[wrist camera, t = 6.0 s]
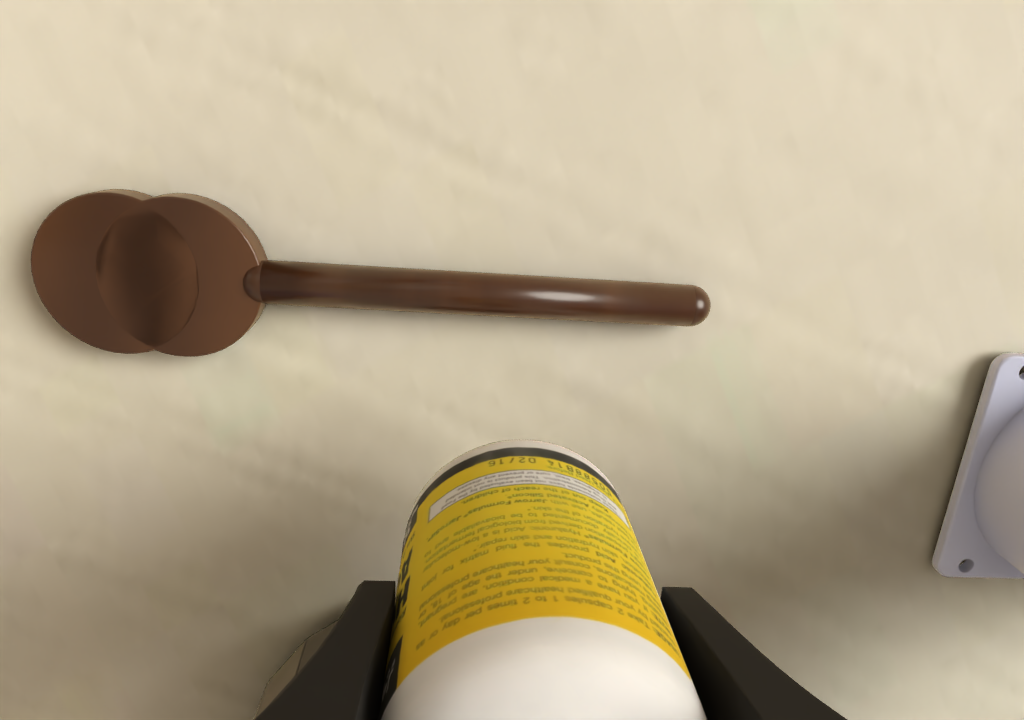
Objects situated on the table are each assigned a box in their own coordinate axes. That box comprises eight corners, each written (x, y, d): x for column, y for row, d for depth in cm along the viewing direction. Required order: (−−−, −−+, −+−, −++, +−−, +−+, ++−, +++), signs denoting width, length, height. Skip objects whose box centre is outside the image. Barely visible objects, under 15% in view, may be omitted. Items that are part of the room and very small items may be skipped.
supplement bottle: (374, 466, 17) (270, 889, 8) (598, 406, 17) (765, 761, 8) (440, 647, 19) (420, 1167, 9) (643, 593, 19) (824, 1068, 9)
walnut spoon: (714, 227, 21) (729, 234, 20) (691, 371, 22) (703, 384, 21) (38, 183, 19) (11, 187, 18) (58, 340, 21) (35, 353, 20)
